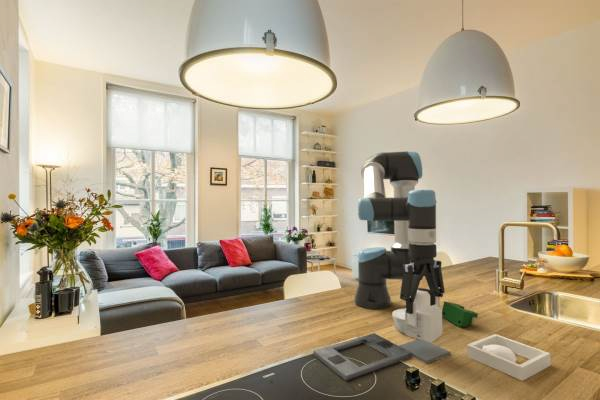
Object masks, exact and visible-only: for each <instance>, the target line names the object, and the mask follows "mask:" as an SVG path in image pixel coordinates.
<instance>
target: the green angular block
mask: <svg viewBox="0 0 600 400" xmlns="http://www.w3.org/2000/svg"><path fill="white" fill-rule="evenodd" d="M441 309H442V318H443V319H446V320H448V321H449V322H450V323H452V324H454V325H456V326H457V327H461V328H467V327H468V325H472V323H473V318H475V319H477V318H478V317H479V316H478V315H479V314H478V312H475V311H474V310H473V311H472V310H468V309H466V308H465V306H463V305H461V304H458V303H454V302H450V301H443V305H442V308H441Z"/></svg>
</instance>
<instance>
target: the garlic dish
mask: <svg viewBox="0 0 600 400" xmlns="http://www.w3.org/2000/svg"><path fill="white" fill-rule="evenodd" d="M493 344H494V345H501V346H505V347H507V348H509V349H511V350H512V351H513V352H514V354H515V355H518V356H520V357H523V358H526V359H528V360H526V361H525V362H523V363H520V364H519V363H517V362H515V363H514V362H512V361H510V360H507V359H505V358H502V357H500V356H497V355H495V354H492V353H490V352H488V351H485V350H483V349H482V348H483V346H484V345H485V346H487V345H493ZM466 357H467V358H470V359H472V360H475V361H477V362H478V363H481V364H483V363H484V364H483V365H485V364H486V365H485V366H488V367H490V368H492V369H495V370H497V371H499V372H501V373H504V374H505V375H509V376H510V377H512V378H515V379H517V380H519V381H522V382H523V381H525V380H527V379H529V378H531V377H532V376H534V375H536V374H538V373H540V372H541V371H543V370H545V369H547V368H548V367H551V353H550V352H549V351H548V352H547V351H545V350H542V349H539V348H537V347H533V346H531V345H528V344H525V343H521V342H520V341H516V340H514V339H510V338H508V337H505V336H502V335H499V334H497V333H494V334H491V335H489V336H485V337H483V338H480V339H478V340H476V341H473V342H470V343H468V344H466Z"/></svg>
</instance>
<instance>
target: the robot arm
mask: <svg viewBox="0 0 600 400" xmlns="http://www.w3.org/2000/svg"><path fill="white" fill-rule="evenodd" d="M421 159H422V158H421V156H420V154H419V153H418V152H417V151H408V150H406V151H392V152H384V151H383V152H378V153H376V154H373V155H371V156H370V157H369V158H367V159H366V160H365V162H363V164H362V167H361V170H360V176H361V178H362V180H363V197H361V198H359V199H358V201H357V202H358V203H357V204H358V205H357V206H358V207H357V208H358V209H357V210H358V211H357V213H358V214H357V215H358V216H357V217H358V219H359V220H360V221H369V222H372V221H373V222H374V221H379V222H380V221H381V222H382V221H384V222H386V221H389V222H390V221H393V223H394V224H393V225H394V242H393V244H392V245H391V247H390V250H387V248H386V247H384V246H382V247H380V246H379V247H377V246H376V247H368V248H364V249H361V250H360V251H359V252H358V254H357V255H358V258H357V263H358V264H357V265H358V269H357V271H358V278H357V279H358V284H357V288H356V293H355V294H354V304H355V305H357V306H359V307H361V308H365V309H366V308H367V309H374V310H375V309H386V308H388V307H390V306H391V304H392V299H391V296H390V293H389V290H388V286H387V280H401V287H400V293H399V294H400V295H399V299H400V300H402V301H405V308H406V313H407V323H408V324H410V325H412V326H417V307H416V302H414V300H415V297H416V293H417V290H418V288H420V283H421V281H422V280H423V278H425V280H426V283H427V286H428V289H429V290H432V291H433V292H435V298H436V307H438V308H440V298H443V296H444V294H445V292H446V290H445V286H444V284H445V283H444V279H443V273H442V261H441V260H437V259H435V258H436V257H437V245H436V244H435V243H437V200H436V199H437V198H436V196H437V195H436V192H435V191H434V190H433V189H416V188H415V187H416V186H417V184H418V183H419V180H420V179H422V177H423V164H422V160H421ZM384 180H389V185H391V186H392V188H393V197H386V190H385V189H386V187H385V182H384Z"/></svg>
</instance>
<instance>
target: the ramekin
mask: <svg viewBox="0 0 600 400" xmlns="http://www.w3.org/2000/svg"><path fill="white" fill-rule="evenodd" d="M391 316H392V320H393V323H394V328H395V329H396V330H397V331H398V332H399V333H401V334H405V308H398V309H395V310H393V311H392V315H391Z"/></svg>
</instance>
